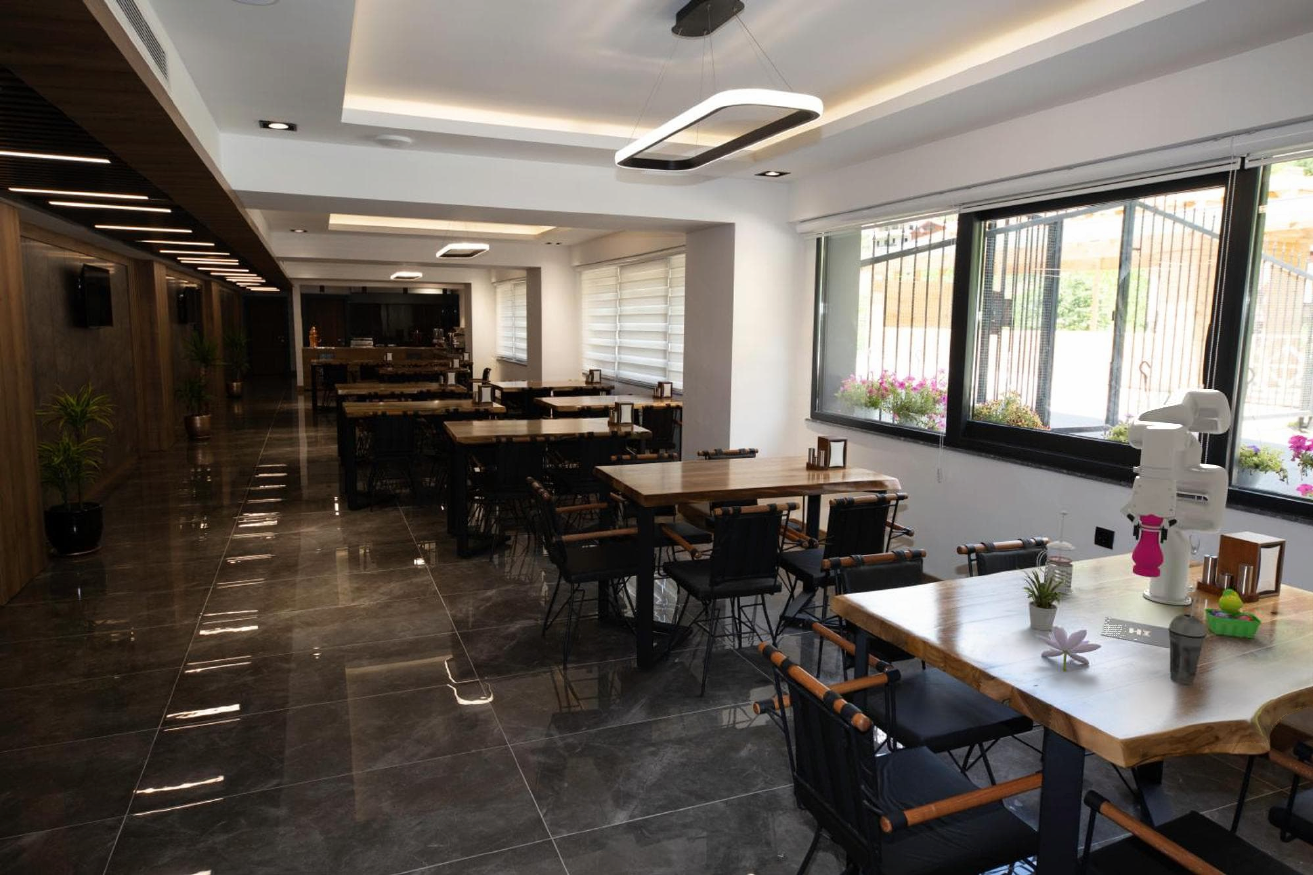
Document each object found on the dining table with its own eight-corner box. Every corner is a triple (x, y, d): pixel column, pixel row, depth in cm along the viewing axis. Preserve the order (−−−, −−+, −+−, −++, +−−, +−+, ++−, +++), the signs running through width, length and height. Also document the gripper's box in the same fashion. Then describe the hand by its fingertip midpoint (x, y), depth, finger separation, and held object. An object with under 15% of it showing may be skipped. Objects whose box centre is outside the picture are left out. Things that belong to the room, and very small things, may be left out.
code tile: (1101, 634, 214) (1101, 634, 214) (1105, 617, 229) (1105, 616, 229) (1177, 649, 205) (1177, 648, 205) (1176, 630, 220) (1177, 629, 220)
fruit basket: (1210, 634, 217) (1214, 594, 216) (1200, 624, 225) (1205, 584, 224) (1260, 641, 213) (1265, 599, 212) (1249, 630, 221) (1253, 590, 220)
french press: (1080, 594, 250) (1087, 515, 247) (1042, 593, 250) (1049, 514, 247) (1065, 584, 259) (1071, 508, 256) (1028, 583, 259) (1035, 507, 256)
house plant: (999, 625, 220) (1004, 567, 218) (1017, 613, 230) (1022, 558, 228) (1055, 639, 210) (1060, 578, 208) (1071, 626, 220) (1076, 568, 218)
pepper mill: (1153, 570, 219) (1160, 498, 216) (1167, 578, 212) (1175, 504, 209) (1125, 569, 219) (1132, 497, 217) (1138, 577, 212) (1145, 503, 210)
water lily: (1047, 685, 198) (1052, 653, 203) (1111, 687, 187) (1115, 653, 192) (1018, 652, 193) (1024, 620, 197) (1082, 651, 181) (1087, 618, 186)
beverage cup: (1155, 673, 189) (1164, 591, 187) (1184, 673, 190) (1194, 591, 188) (1178, 687, 182) (1187, 601, 180) (1208, 686, 183) (1218, 601, 180)
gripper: (1117, 471, 213) (1111, 538, 216) (1195, 479, 204) (1187, 549, 207) (1119, 467, 219) (1113, 533, 222) (1194, 474, 210) (1187, 542, 213)
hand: (1149, 540), depth 214 cm, fingers closed on pepper mill, 5 cm apart
